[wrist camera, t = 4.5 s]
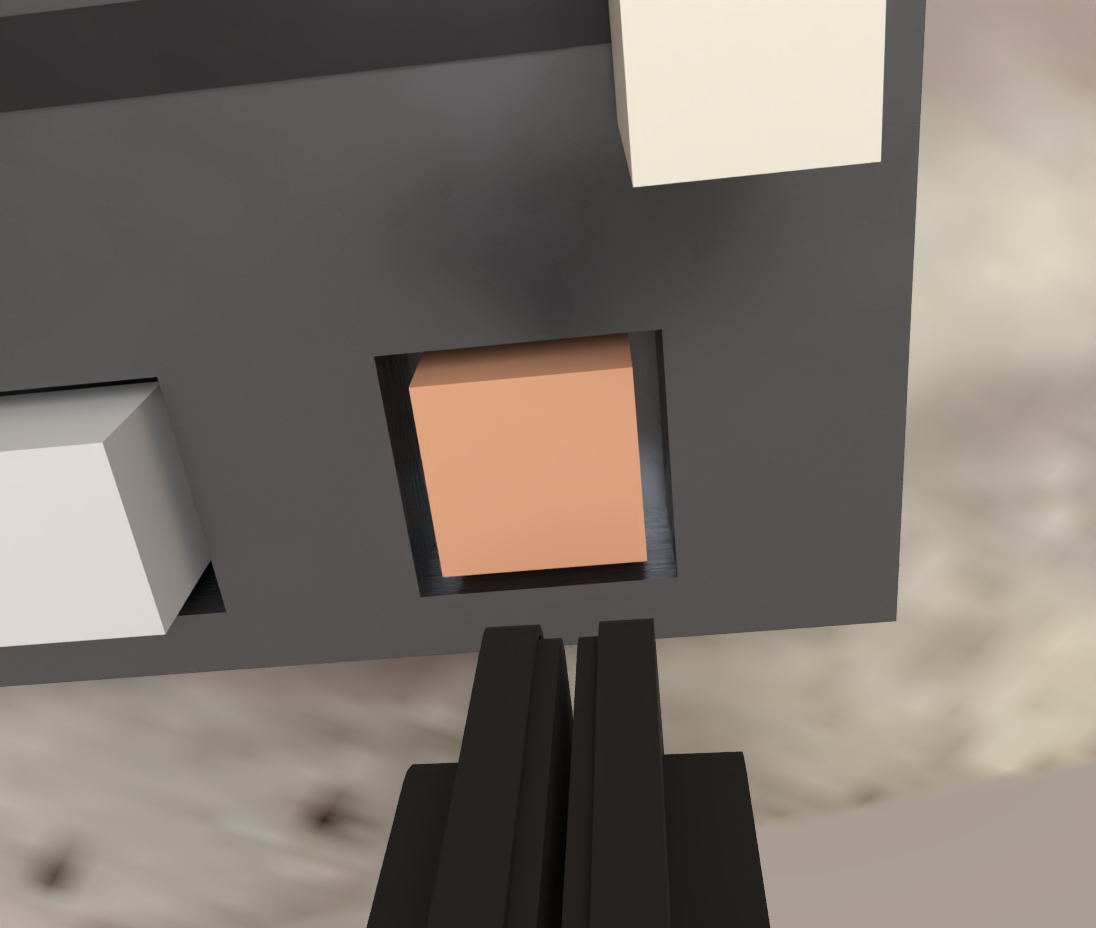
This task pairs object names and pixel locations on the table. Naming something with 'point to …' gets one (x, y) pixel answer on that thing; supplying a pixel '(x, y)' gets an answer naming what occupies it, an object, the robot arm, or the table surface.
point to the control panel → (443, 314)
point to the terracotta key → (531, 454)
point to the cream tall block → (746, 86)
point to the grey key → (93, 516)
